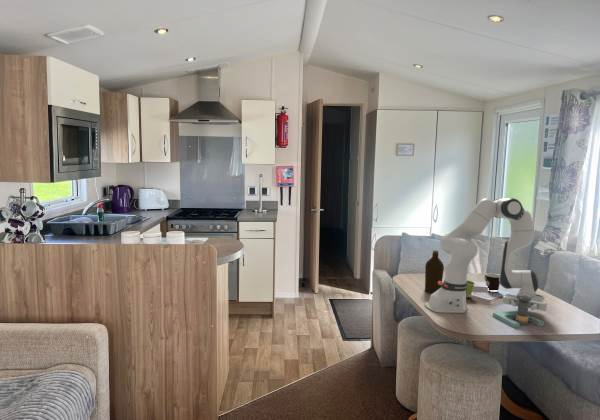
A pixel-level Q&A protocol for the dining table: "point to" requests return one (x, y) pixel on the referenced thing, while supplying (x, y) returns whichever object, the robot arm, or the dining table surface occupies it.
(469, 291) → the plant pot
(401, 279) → the dining table surface
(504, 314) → the notched board
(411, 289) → the dining table surface
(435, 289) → the olive oil
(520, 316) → the door knob
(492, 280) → the coffee mug
